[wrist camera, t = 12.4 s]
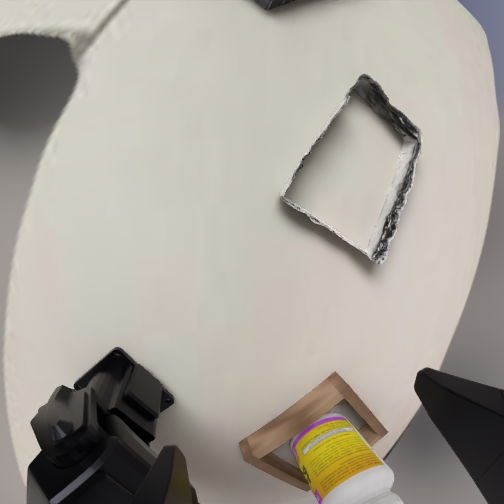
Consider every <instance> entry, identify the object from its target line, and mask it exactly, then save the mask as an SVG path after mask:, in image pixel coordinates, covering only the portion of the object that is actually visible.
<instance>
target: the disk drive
mask: <svg viewBox="0 0 504 504" xmlns="http://www.w3.org/2000/svg"><path fill="white" fill-rule="evenodd" d="M255 1H256V2H258V3H259V4H260V5H261V6H262V7H264V8H265V9H266V10H269V9H271V8H274V7H277V6H280V5H284V4H287V3H290V2H292V1H295V0H255Z"/></svg>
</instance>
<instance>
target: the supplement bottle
mask: <svg viewBox="0 0 504 504" xmlns="http://www.w3.org/2000/svg"><path fill="white" fill-rule="evenodd" d="M290 447H291V451H292V453H293V455H294V457H295V459H296V461H297V463H298V465H299V467H300V469H301V471H302V473H303V475H304V477H305V479H306V480H307V482H308V484H309V486H310V488H311V490H312V492H313V493H314V495H315V497H316V498H317V501H318V503H319V504H403V502H402V500H401V499H400V498H399V496H398V495H396V494H394V493H391V491H390V489H391V487H392V485H393V482H394V474H393V472H392V470H391V469H390V468H389V467H388V466H387V465H386V463H385V462H384V461H383V460H382V459H381V458H380V457H379V455H378V454H377V453H376V452H375V451H374V450H373V448H372V447H371V446H370V445H369V444H368V443H367V441H366V440H365V439H364V438H363V437H362V435H361V434H360V433H359V432H358V431H357V429H356V428H355V427H354V426H353V425H352V423H351V422H350V421H349V420H348V419H347V418H346V417H345V416H343V415H341V414H338V413H326V414H324V415H323V416H321V417H320V418H319V419H318V420H316V421H315V422H314V423H312V424H311V425H310V426H308V427H307V428H305V429H304V430H303V431H301V432H300V433H298V434H297V435H296V436H294V437H293V438H292V439H291V443H290Z"/></svg>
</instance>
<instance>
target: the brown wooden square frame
mask: <svg viewBox="0 0 504 504" xmlns="http://www.w3.org/2000/svg"><path fill="white" fill-rule="evenodd" d="M344 398H345V399H346V400H347V402H348V403H349V404H350V405H351V406H352V407H353V408H354V409H355V410H356V411H357V413H358V414H359V415H360V416H361V417H362V418H363V419H364V420H365V421H366V422H367V424H366V425H365V426H364V427H363V428H361V429H360V430H359V431H358V432H359V433H360V434H361V435H362V437H363V438H364V439H365V440H366V441H367V443H368V444H369V445H370V446H373V445H374V444H375V443H376V442H378V441H379V440H380V439H381V438H382V437H383V436H385V435H386V434H387V433H388V431H387V430H386V429H385V428H384V427H383V425H382V424H381V423H380V422H379V421H378V419H377V418H376V417H375V416H374V415H373V414H372V412H371V411H370V410H369V409H368V408H367V406H366V405H365V404H364V403H363V402H362V400H361V399H360V398H359V397H358V396H357V394H356V393H355V392H354V391H353V390H352V388H351V387H350V386H349V385H348V384H347V383H346V382H345V381H344V380H343V379H342V378H341V377H340V376H339V375H338V374H337V373H336V372H334V373H333V374H332V375H330V376H329V377H328V378H327V379H326V380H324V381H323V382H322V383H321V384H320V385H318V386H317V387H316V388H315V389H314V390H312V391H311V392H310V393H309V394H307V395H306V396H305V397H303V398H302V399H301V400H300V401H298V402H297V403H296V404H294V405H293V406H292V407H290V408H289V409H288V410H286V411H285V412H284V413H282V414H281V415H279V416H278V417H277V418H275V419H274V420H272V421H271V422H269V423H268V424H267V425H265V426H264V427H262V428H261V429H259V430H258V431H256V432H255V433H253V434H252V435H250V436H248V437H247V438H245V439H244V440H242V441H241V442H239V445H240V448H241V452H242V455H243V459H244V461H246V462H248V463H250V464H252V465H253V466H255V467H257V468H259V469H261V470H263V471H264V472H266V473H268V474H270V475H272V476H274V477H276V478H278V479H280V480H282V481H285V482H287V483H289V484H291V485H293V486H295V487H298V488H300V489H302V490H305V491H309V490H310V489H311V488H310V486H309V484H308V482H307V480H306V479H305V477H304V475H303V473H302V471H301V470H299V469H298V468H296V467H294V466H292V465H290V464H289V463H287V462H285V461H283V460H282V459H280V458H278V457H277V456H275V455H273V454H272V453H270V452H272V451H273V450H275V449H276V448H278V447H279V446H281V445H282V444H284V443H285V442H287V441H288V440H290V439H291V438H293V437H294V436H296V435H297V434H298V433H300V432H301V431H303V430H304V429H305V428H307V427H308V426H310V425H311V424H312V423H314V422H315V421H316V420H318V419H319V418H320V417H321V416H323V415H324V414H325V413H327V412H328V411H329V410H330V409H332V408H333V407H334V406H335V405H336V404H338V403H339V402H340V401H341V400H342V399H344Z"/></svg>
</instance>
